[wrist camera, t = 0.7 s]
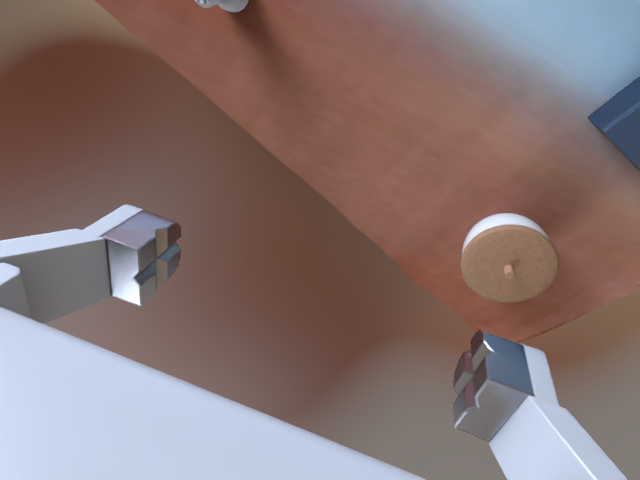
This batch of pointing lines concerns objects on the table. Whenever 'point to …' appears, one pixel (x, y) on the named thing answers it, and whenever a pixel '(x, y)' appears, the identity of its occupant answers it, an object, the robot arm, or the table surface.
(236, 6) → the rook chess piece
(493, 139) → the table surface
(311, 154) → the table surface
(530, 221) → the trinket box
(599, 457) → the robot arm
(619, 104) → the blue box
